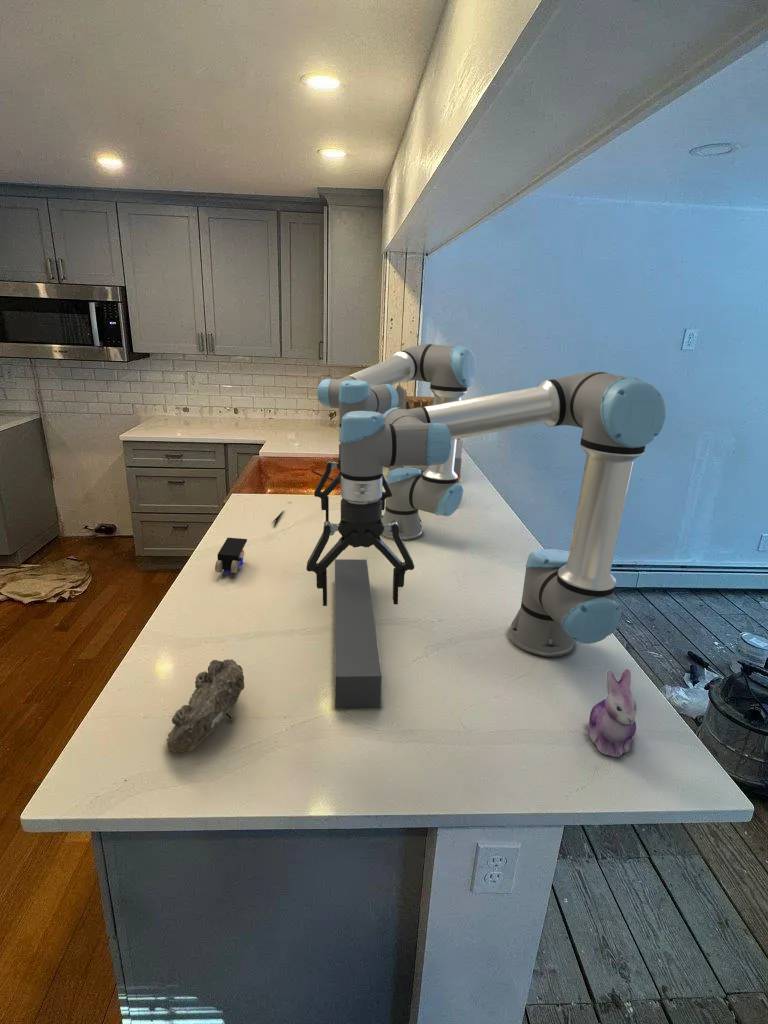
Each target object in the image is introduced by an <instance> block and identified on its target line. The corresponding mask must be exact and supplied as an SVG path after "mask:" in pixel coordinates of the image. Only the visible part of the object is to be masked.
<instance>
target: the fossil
mask: <svg viewBox="0 0 768 1024" xmlns="http://www.w3.org/2000/svg"><path fill="white" fill-rule="evenodd" d="M243 670H244V669H243V667H242V665H240V664H237V662H236V661H235V660H234V659H232V658H231V659H227V658H226V659H224V660H223V661H222V660H217V659H212V660H211V661H210V663H209V665H208V666H207V671H201V672H199V673H198V674H197V675H196V676H195V680H194V684H195V685H194V687H195V689H194V690H193V693H192V694H191V697H190V698H189V700H188V704H184V705H182V706H181V707H180V709H177V710H176V711H175V713H174V715H173V716H172V718H171V723H172V724H173V727H172V730H171V731H170V732H168V734H167V738H166V741H167V742H166V745H167V749H168V750H169V751H173V752H174V753H176V754H178V753H182V752H188V751H189V752H192V751H193V750H195V748H196V747H197V746H199V744H200V743H201V742H203V741H204V740H205V739H206V738H207V737H208V736H209V735H210V734H211V733H212V732H214V730H215V729H217V727H218V726H219V724H220V722H221V721H222V720H223V719H224V718H225V716H226V717H227V719H229V720H233V717H232V715H230V714H229V710H230V709H231V708H234V706H235V704H236V703H237V702H238V699H239V697H240V695H241V693H242V691H243V690H245V689H244V688H245V675H244V671H243Z"/></svg>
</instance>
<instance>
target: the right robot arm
mask: <svg viewBox="0 0 768 1024" xmlns="http://www.w3.org/2000/svg"><path fill="white" fill-rule="evenodd" d="M666 415H667V409H666V403H665V399H664V397H663V396H662V394H661V392H659V390H658V389H657V387H655V386H654V385H652V384H651V383H649V382H647V381H645V380H644V381H643V380H641V379H639V378H636V377H632V376H625V375H621V374H613V373H609V372H604V371H587V372H581V373H575V374H571V375H566V376H562V377H557V378H551V379H545V380H543V381H542V382H540V383H539V385H538V386H535V387H529V388H524V389H518V390H511V391H506V392H500V393H494V394H489V395H483V396H477V397H472V398H466V399H461V400H460V401H454V402H448V403H442V404H437V405H431V406H425V407H420V408H413V409H405V408H399V407H396V408H392V409H389V410H388V411H386V412H385V413H384V414H381V413H378V412H373V411H353V412H348V413H346V414H345V415H344V416H343V417H342V421H341V437H340V442H339V444H340V453H341V484H340V497H341V499H340V521H339V523H333V522H331V521H330V520H329V521H326V520H325V521H324V522H323V529H322V533H321V535H320V537H319V538H318V541H317V543H316V544H315V546H314V548H313V549H312V550H313V551H312V552H311V554H310V556H309V558H308V560H307V562H306V571H307V572H313V573H315V576H316V577H315V579H316V588H317V589H318V590H319V589H321V590H322V606H323V607H327V606H328V568H329V567H330V565H331V564H332V563H333V562H335V559H337V558H338V557H339V556H340V555H341V554H342V552H343V551H345V550H346V549H348V547H349V546H350V547H352V548H359V547H362V548H370V547H372V546H374V547H375V548H376V549H377V550H378V551H379V552H380V553H381V554H382V555H383V556H384V558H386V560H387V561H388V562H389V563H390V564H391V565H392V566H393V570H392V571H393V573H392V574H393V575H392V603H393V605H395V606H396V605H398V604H399V588H404V586H405V575H406V572H407V571H413V570H414V569H415V564H414V561H413V559H412V556H411V554H410V552H409V550H408V548H407V546H406V545H405V542H404V540H402V538H401V536H400V534H399V528H398V524H397V521H395V520H393V521H392V522H391V523H386V524H383V523H382V519H383V518H382V515H383V513H382V512H383V510H382V500H381V499H380V498H381V497H382V491H383V485H382V476H383V475H384V473H383V472H384V467H387V466H404V467H415V466H416V467H417V466H418V467H428V466H430V465H439V464H444V463H446V462H447V461H448V459H449V457H450V453H451V440H453V439H459V438H460V439H464V438H469V437H476V436H479V435H480V436H481V435H486V434H492V433H499V432H503V431H508V430H513V429H519V428H520V429H521V428H524V427H531V426H536V425H537V426H538V425H545V426H546V427H549V428H554V427H558V426H559V427H560V426H568V427H569V426H570V427H575V428H580V429H582V432H581V437H580V443H579V446H580V448H581V449H582V450H583V451H584V453H585V454H586V455H585V463H584V468H583V474H582V479H581V483H580V489H579V495H578V501H577V506H576V512H575V518H574V524H573V529H572V533H571V539H570V545H569V551H567V550H562V549H555V548H554V549H553V548H543V549H536V550H534V551H532V552H530V553H529V555H528V557H527V559H526V564H525V571H524V572H525V573H524V580H523V588H522V596H521V603H520V607H519V609H518V610H517V613H516V615H515V617H514V618H513V620H512V622H511V624H510V627H509V633H508V634H509V635H508V636H509V639H510V641H511V643H513V645H515V646H516V647H517V648H519V649H520V650H522V651H524V652H526V653H529V654H531V655H534V656H538V657H545V658H558V657H562V656H566V655H568V654H570V652H572V651H573V649H574V645H575V642H576V643H579V644H583V645H590V644H596V643H598V642H601V641H603V640H605V639H606V638H607V637H609V636H611V635H612V634H613V633H614V632H615V631H616V630H617V628H618V627H619V625H620V623H621V620H622V609H621V607H620V605H619V603H618V602H617V601H616V600H614V596H615V590H616V586H617V579H616V578H615V577H614V576H613V574H612V573H611V572H612V566H613V562H614V556H615V553H616V552H615V551H616V547H617V542H618V537H619V532H620V528H621V523H622V519H623V513H624V509H625V504H626V498H627V494H628V490H629V485H630V481H631V475H632V471H633V465H634V461H635V460H637V459H638V458H640V457H641V456H643V455H644V454H645V452H646V451H645V450H646V447H647V445H649V444H651V443H652V442H653V441H654V440H655V437H656V436H657V437H658V436H659V434H660V433H661V432H662V430H663V428H664V425H665V423H666ZM384 530H385V531H387V532H388V534H389V535H393V539H392V540H393V541H394V543H395V545H396V547H397V549H398V552H399V553H400V555H401V557H402V559H403V560H404V561H402V560H401V559H400V558H399V557H398V556H397V555H396V554H395V553H394V552H393V550H392V549H391V548H390V547H389V546H388V544H387V543H386V542H384V541H383V539H382V538H381V536H382V535H381V534H382V533H383V531H384ZM336 532H338V533H339V534H340V536H341V537H340V538H339V539H338V541H337V542H336V543H335V544H334V545H333V547H331V548H330V550H328V552H327V553H326V554H325V555H324V556H323V557H322V559H321V560H319V558H320V557H321V555H322V554H323V552H324V549H325V547H326V546H327V544H328V542H329V540H330V536H334V535H335V533H336ZM318 561H319V562H318Z"/></svg>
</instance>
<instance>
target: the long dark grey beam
mask: <svg viewBox="0 0 768 1024" xmlns="http://www.w3.org/2000/svg"><path fill="white" fill-rule="evenodd" d="M382 677H383V675H382V668H381V660H380V653H379V645H378V637H377V630H376V622H375V613H374V607H373V598H372V591H371V582H370V575H369V567H368V559H359V558H357V559H354V558H353V559H350V558H349V559H347V558H346V559H343V558H342V559H339V558H338V559H337V558H336V559H335V560H334V709H337V710H338V709H339V710H341V709H380V708H381V699H382V698H381V697H382Z"/></svg>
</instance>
